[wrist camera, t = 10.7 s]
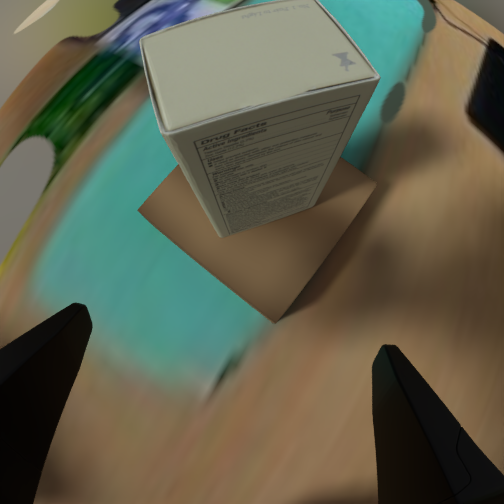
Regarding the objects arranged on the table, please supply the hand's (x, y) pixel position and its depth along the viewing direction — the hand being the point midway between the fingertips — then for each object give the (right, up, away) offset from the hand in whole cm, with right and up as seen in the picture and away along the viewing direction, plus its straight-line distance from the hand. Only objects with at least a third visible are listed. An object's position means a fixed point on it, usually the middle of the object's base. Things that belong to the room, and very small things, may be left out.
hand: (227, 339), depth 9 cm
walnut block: (+1, +5, +14) cm, 15 cm away
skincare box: (+1, +6, +11) cm, 12 cm away
